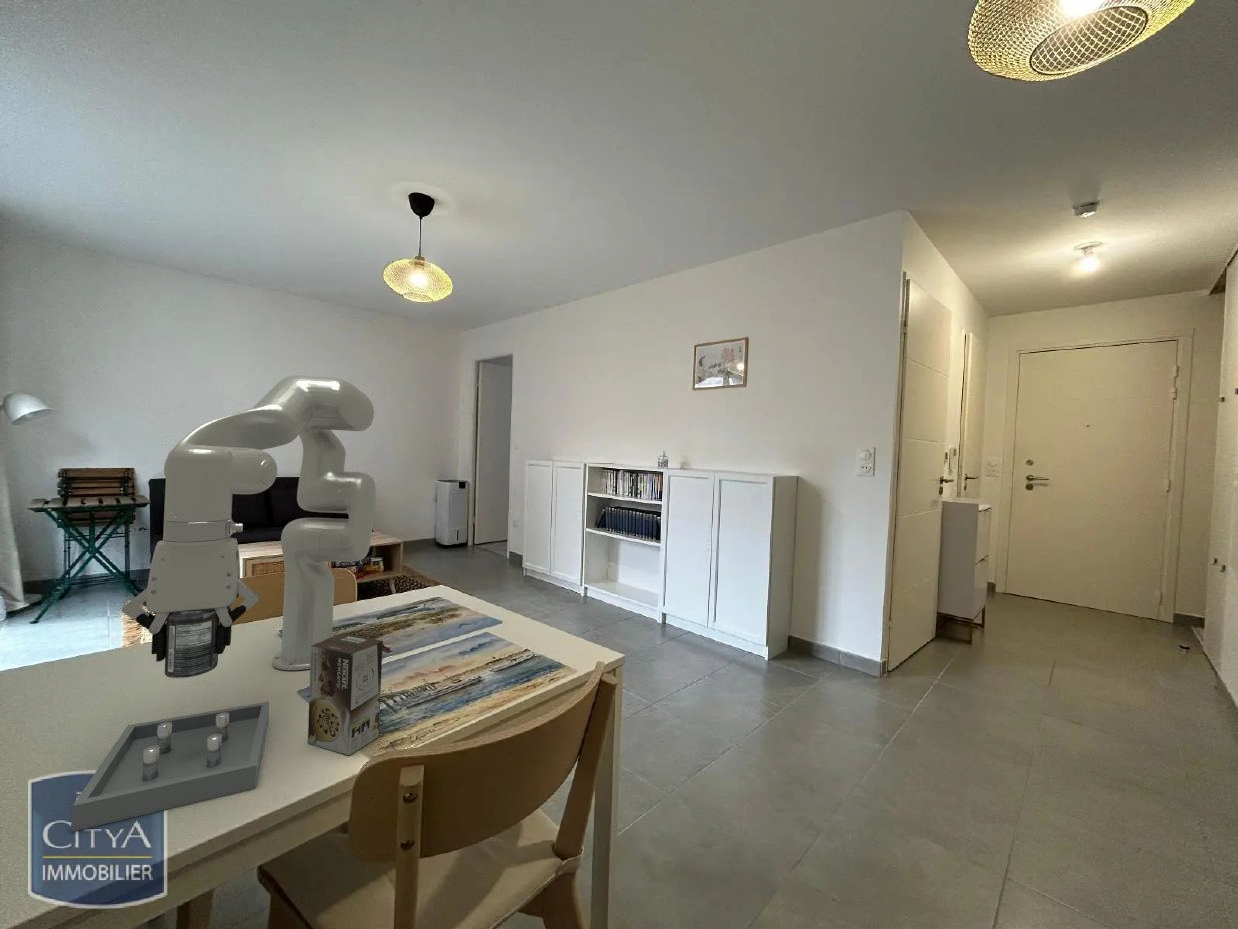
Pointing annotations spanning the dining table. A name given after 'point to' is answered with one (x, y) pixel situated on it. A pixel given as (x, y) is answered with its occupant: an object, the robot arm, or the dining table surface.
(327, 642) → the coffee box
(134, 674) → the dining table surface
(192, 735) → the pin tray
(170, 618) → the pill bottle
